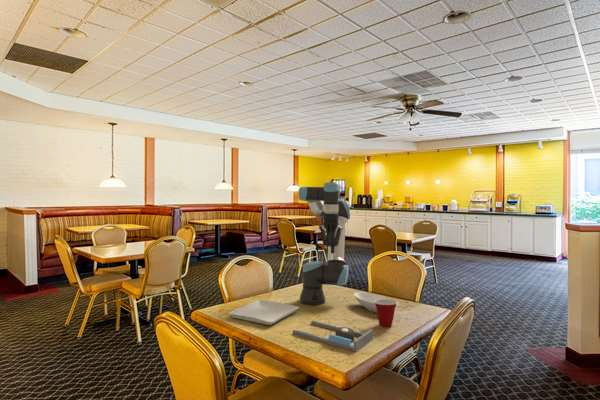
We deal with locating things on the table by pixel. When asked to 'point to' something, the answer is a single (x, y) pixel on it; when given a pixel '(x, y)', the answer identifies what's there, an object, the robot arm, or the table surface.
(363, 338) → the gray u-shaped frame
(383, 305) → the plastic cup
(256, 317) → the square plate
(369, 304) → the bowl
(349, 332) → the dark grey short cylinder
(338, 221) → the robot arm
